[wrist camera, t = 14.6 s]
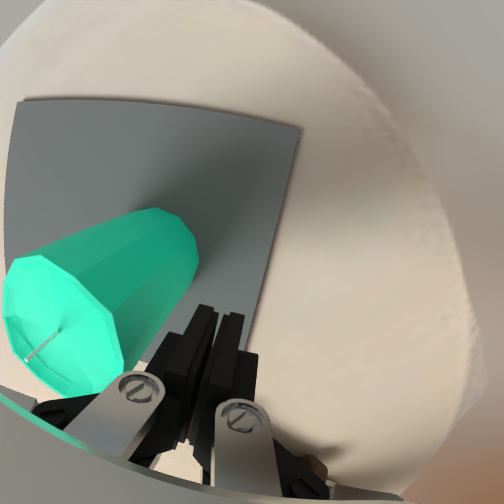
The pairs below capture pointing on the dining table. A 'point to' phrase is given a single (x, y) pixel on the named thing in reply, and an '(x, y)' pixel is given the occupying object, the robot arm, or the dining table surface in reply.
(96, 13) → the dining table surface
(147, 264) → the candle
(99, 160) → the mat
